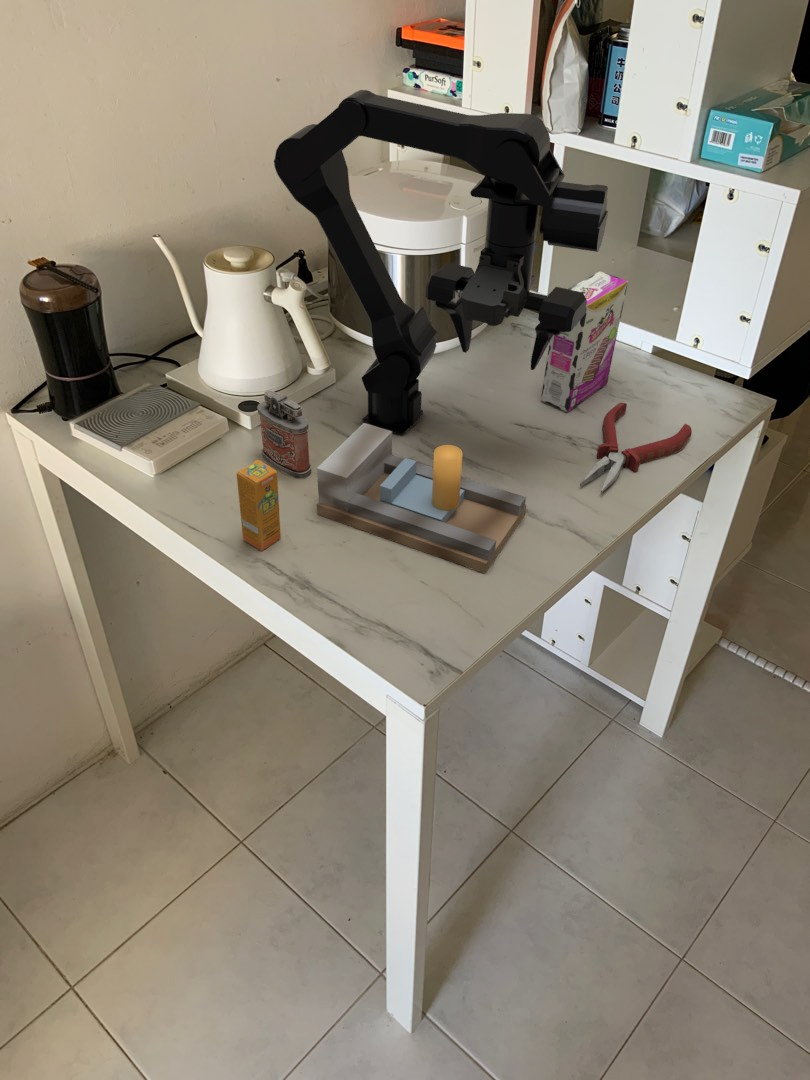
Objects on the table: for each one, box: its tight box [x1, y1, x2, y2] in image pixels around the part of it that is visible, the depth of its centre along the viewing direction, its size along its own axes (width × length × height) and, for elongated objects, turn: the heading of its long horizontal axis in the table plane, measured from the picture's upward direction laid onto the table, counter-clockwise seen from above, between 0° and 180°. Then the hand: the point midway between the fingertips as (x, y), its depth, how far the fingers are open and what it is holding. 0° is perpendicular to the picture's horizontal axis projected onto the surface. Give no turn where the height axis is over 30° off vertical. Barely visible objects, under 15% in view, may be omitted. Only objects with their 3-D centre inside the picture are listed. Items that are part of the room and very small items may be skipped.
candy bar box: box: [540, 271, 629, 413], centre depth 122 cm, size 11×5×16 cm, turn 139°
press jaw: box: [380, 444, 465, 523], centre depth 102 cm, size 9×6×8 cm
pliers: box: [579, 402, 693, 494], centre depth 115 cm, size 12×20×3 cm, turn 145°
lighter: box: [256, 389, 312, 480], centre depth 110 cm, size 8×3×10 cm, turn 47°
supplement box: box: [236, 459, 281, 551], centre depth 98 cm, size 3×3×10 cm
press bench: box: [316, 423, 527, 574], centre depth 104 cm, size 22×12×6 cm, turn 62°
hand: (499, 359), depth 110 cm, fingers open, 9 cm apart
